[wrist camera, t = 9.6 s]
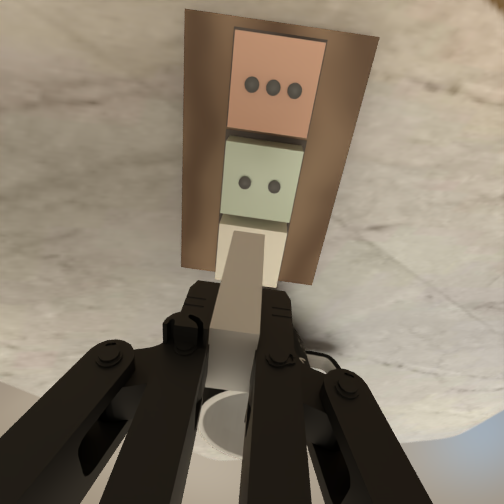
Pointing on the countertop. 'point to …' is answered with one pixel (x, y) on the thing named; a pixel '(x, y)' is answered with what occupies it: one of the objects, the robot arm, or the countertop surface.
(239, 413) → the mug
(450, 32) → the countertop surface
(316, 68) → the key
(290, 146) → the key
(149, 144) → the countertop surface
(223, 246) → the key
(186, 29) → the board
